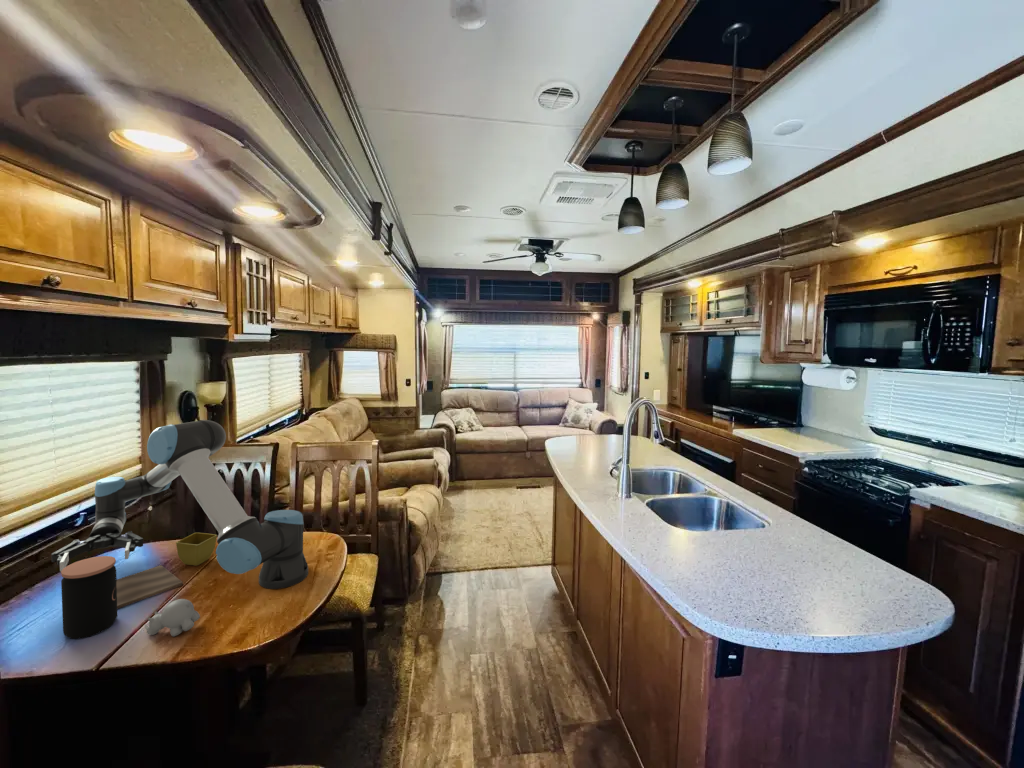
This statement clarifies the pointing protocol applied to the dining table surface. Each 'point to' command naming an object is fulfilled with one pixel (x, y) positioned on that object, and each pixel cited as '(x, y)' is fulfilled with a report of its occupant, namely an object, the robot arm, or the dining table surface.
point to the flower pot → (196, 548)
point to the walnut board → (145, 585)
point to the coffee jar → (89, 596)
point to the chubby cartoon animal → (174, 618)
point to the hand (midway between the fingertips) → (95, 560)
